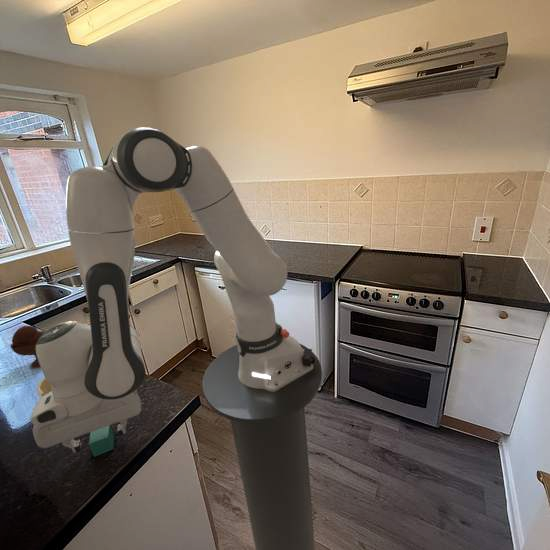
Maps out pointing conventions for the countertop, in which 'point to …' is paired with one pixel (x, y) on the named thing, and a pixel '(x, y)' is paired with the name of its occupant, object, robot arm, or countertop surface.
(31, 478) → the countertop surface
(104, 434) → the block
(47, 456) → the countertop surface
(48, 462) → the countertop surface
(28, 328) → the ice cream bowl
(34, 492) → the countertop surface
